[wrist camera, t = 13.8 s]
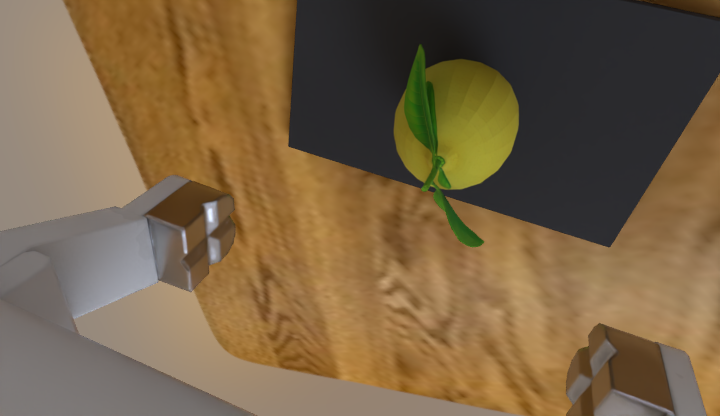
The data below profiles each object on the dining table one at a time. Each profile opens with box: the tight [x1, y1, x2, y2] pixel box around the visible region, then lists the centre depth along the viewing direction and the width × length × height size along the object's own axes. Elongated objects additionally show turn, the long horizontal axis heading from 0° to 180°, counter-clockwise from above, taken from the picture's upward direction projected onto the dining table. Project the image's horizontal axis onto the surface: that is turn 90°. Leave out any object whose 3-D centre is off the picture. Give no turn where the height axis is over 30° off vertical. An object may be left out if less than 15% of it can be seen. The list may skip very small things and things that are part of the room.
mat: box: [288, 0, 720, 247], centre depth 24 cm, size 20×12×1 cm, turn 81°
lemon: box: [394, 44, 519, 247], centre depth 20 cm, size 7×6×10 cm
